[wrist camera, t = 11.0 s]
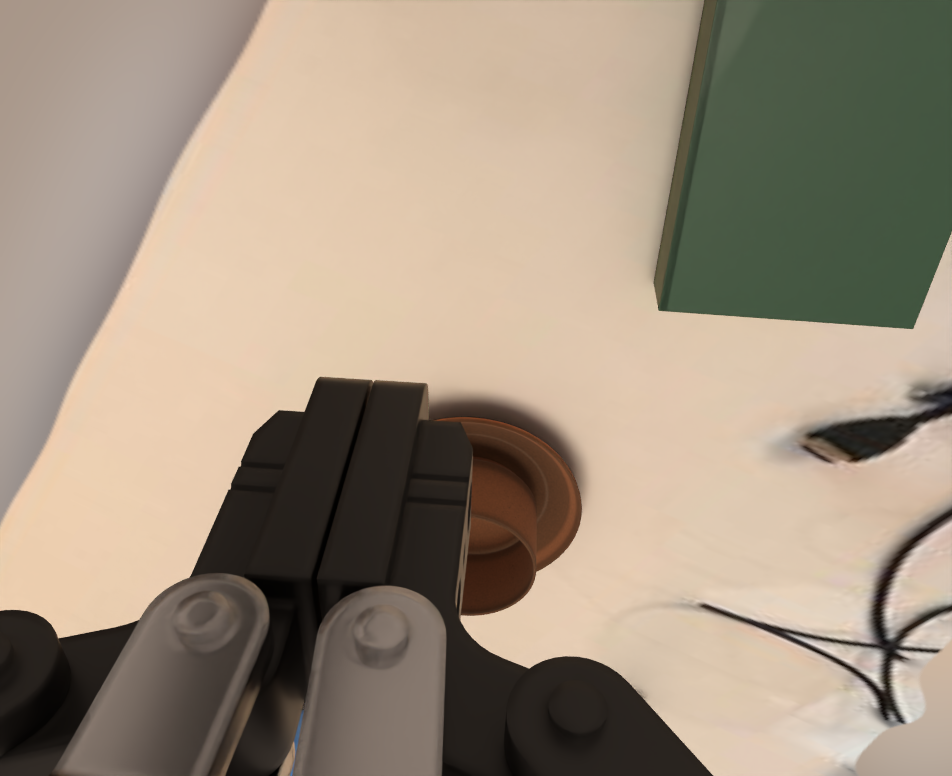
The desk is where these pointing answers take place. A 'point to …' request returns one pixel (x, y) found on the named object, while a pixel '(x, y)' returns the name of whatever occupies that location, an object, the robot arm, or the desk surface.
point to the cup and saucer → (514, 513)
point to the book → (812, 162)
